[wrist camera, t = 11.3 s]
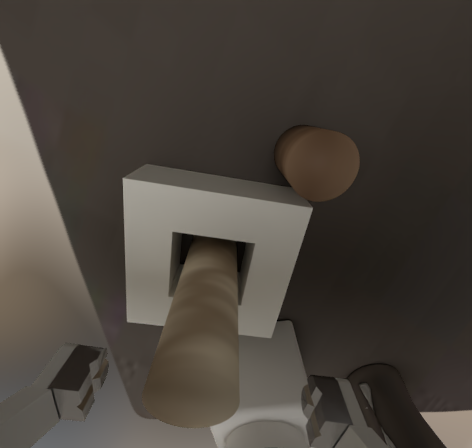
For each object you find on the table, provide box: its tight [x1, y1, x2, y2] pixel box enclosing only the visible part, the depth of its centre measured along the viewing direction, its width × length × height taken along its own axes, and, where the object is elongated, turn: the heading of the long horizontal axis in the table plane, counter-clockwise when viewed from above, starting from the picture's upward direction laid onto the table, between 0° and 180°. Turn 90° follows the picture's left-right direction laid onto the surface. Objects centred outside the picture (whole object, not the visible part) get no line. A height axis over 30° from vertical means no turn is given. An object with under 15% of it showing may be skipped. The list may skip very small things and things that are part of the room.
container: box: [210, 320, 312, 448], centre depth 19 cm, size 8×8×13 cm
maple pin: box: [142, 235, 240, 428], centre depth 14 cm, size 4×4×12 cm
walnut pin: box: [274, 125, 360, 202], centre depth 15 cm, size 4×4×5 cm
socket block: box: [123, 164, 313, 338], centre depth 18 cm, size 11×11×4 cm
